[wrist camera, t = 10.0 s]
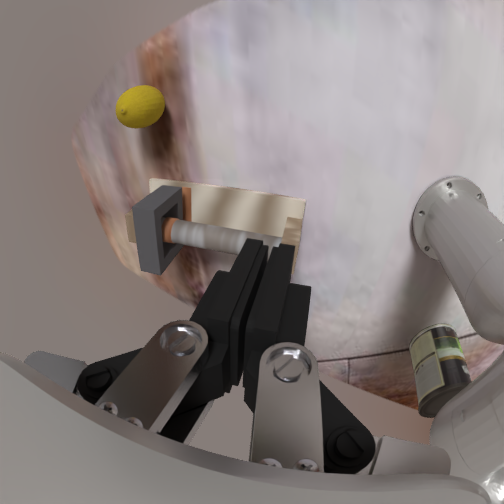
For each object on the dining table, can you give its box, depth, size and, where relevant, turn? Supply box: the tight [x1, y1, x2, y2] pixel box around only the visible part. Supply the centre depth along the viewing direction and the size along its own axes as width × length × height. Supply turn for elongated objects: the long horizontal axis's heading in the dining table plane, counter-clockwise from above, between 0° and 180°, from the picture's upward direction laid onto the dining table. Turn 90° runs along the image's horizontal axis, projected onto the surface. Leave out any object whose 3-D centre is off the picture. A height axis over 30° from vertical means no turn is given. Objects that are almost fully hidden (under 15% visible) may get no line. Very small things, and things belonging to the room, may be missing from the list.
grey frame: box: [132, 185, 184, 275], centre depth 36 cm, size 3×9×8 cm, turn 174°
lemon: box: [116, 85, 165, 128], centre depth 29 cm, size 6×6×8 cm
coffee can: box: [409, 324, 471, 418], centre depth 38 cm, size 10×10×14 cm
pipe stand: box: [125, 178, 306, 274], centre depth 37 cm, size 22×9×8 cm, turn 84°
